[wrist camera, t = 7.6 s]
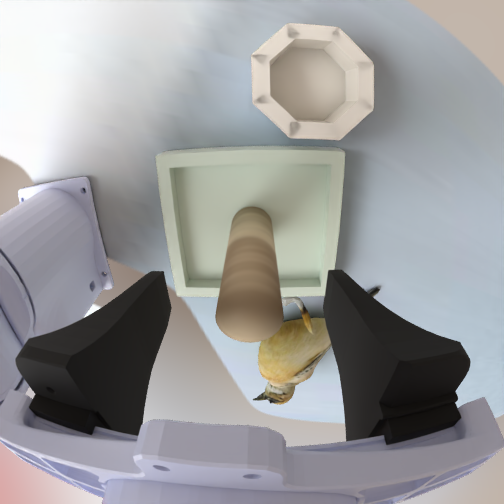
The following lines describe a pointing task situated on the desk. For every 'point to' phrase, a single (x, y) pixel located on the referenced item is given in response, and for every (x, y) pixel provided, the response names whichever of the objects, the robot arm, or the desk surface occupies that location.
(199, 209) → the tray
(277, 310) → the dowel pin
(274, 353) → the decorative bird model
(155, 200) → the desk surface
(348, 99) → the pin cup
